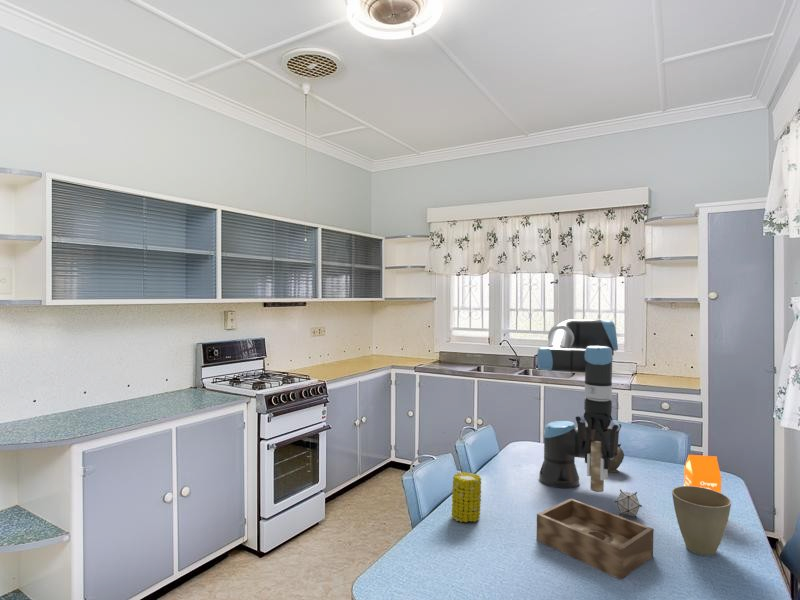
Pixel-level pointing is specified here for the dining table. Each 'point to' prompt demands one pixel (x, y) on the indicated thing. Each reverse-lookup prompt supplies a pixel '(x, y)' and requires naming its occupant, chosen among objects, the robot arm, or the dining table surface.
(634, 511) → the game die
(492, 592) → the dining table surface
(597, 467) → the peg
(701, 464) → the orange juice
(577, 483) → the robot arm
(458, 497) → the food
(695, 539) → the plant pot
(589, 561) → the box
